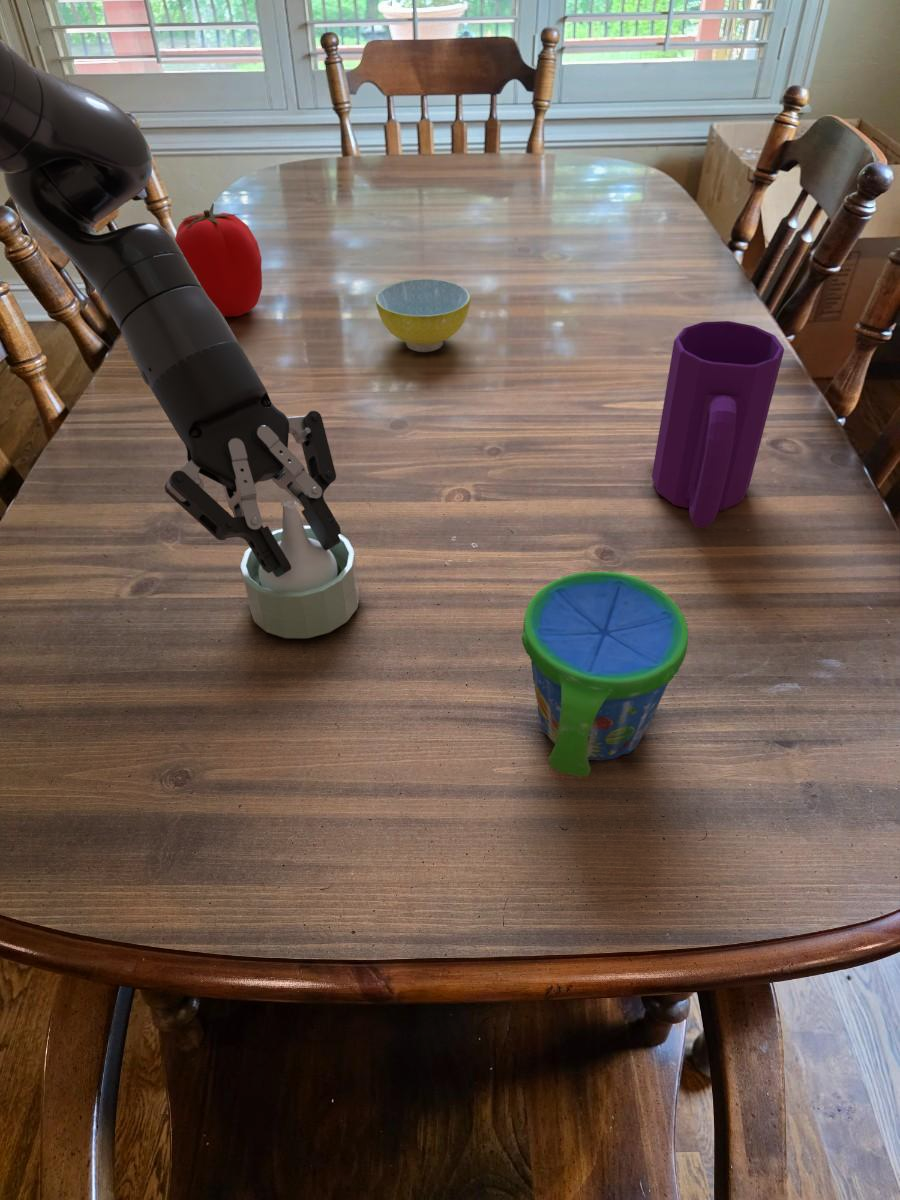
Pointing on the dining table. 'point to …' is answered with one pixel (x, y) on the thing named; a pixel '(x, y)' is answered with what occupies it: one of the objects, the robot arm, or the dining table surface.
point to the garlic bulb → (300, 557)
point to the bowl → (423, 311)
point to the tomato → (223, 259)
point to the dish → (304, 596)
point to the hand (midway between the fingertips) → (308, 558)
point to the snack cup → (600, 662)
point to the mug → (714, 415)
